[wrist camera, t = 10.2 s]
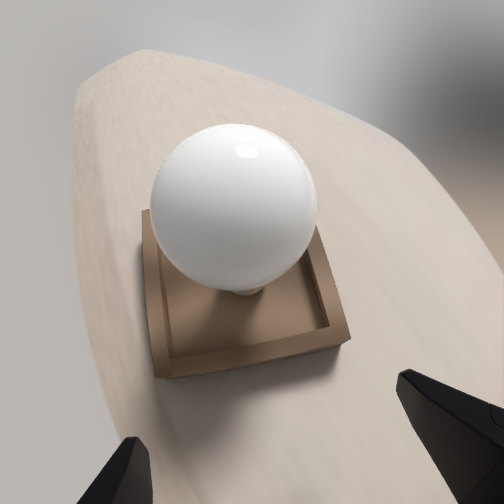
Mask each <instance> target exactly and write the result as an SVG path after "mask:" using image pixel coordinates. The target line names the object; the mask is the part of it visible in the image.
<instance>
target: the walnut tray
mask: <svg viewBox="0 0 504 504" xmlns="http://www.w3.org/2000/svg"><path fill="white" fill-rule="evenodd" d="M142 244H143V266H144V282H145V295H146V307H147V317H148V327H149V336H150V344H151V352H152V359H153V366H154V373H155V378H158V379H175V378H182V377H190V376H196V375H203V374H209V373H216V372H222V371H227V370H233V369H238V368H244V367H249V366H254V365H259V364H264V363H268V362H273V361H277V360H282V359H286V358H291V357H295V356H299V355H303V354H307V353H311V352H315V351H319V350H322V349H326V348H330V347H333V346H337V345H341V344H343V343H345V342H346V341H348V340H350V339H351V336H350V333H349V329H348V325H347V322H346V318H345V315H344V311H343V308H342V304H341V301H340V298H339V294H338V291H337V288H336V285H335V281H334V278H333V275H332V272H331V269H330V265H329V262H328V259H327V256H326V253H325V250H324V247H323V244H322V241H321V238H320V235H319V232H318V229H317V226H315V230H314V233H313V236H312V239H311V241H310V243H309V245H308V247H307V249H306V250H305V252H304V254H303V255H302V256H301V258H300V259H299V260H298V262H297V263H296V264H295V265H294V266H293V267H292V268H291V269H290V270H289V271H287V272H286V273H285V274H284V275H282V276H281V277H279V278H278V279H276V280H274V281H272V282H270V283H268V284H266V285H264V287H263V288H262V289H261V290H260V291H258V292H257V293H255V294H252V295H238V294H236V293H234V292H232V291H224V290H218V289H213V288H209V287H206V286H203V285H201V284H199V283H197V282H195V281H193V280H191V279H189V278H188V277H186V276H185V275H183V274H182V273H181V272H180V271H178V270H177V269H176V268H175V267H174V266H173V265H172V264H171V263H170V261H169V260H168V259H167V258H166V256H165V255H164V253H163V252H162V250H161V249H160V247H159V245H158V243H157V241H156V238H155V236H154V233H153V229H152V225H151V219H150V209H147V210H143V211H142Z"/></svg>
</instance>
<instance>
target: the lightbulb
mask: <svg viewBox="0 0 504 504" xmlns="http://www.w3.org/2000/svg"><path fill="white" fill-rule="evenodd" d="M317 212H318V201H317V193H316V188H315V184H314V181H313V178H312V175H311V173H310V171H309V169H308V167H307V165H306V163H305V162H304V160H303V159H302V157H301V156H300V155H299V154H298V153H297V151H296V150H295V149H294V148H293V147H292V146H291V145H290V144H288V143H287V142H286V141H285V140H283V139H282V138H280V137H279V136H277V135H275V134H274V133H272V132H270V131H267V130H265V129H262V128H259V127H256V126H252V125H246V124H222V125H216V126H212V127H209V128H206V129H203V130H201V131H198V132H196V133H194V134H193V135H191V136H189V137H188V138H186V139H185V140H183V141H182V142H181V143H180V144H178V145H177V146H176V147H175V148H174V149H173V150H172V151H171V152H170V154H169V155H168V156H167V157H166V159H165V160H164V162H163V163H162V165H161V167H160V168H159V170H158V172H157V175H156V177H155V180H154V183H153V186H152V190H151V196H150V219H151V225H152V229H153V233H154V236H155V238H156V241H157V243H158V245H159V247H160V249H161V250H162V252H163V253H164V255H165V256H166V258H167V259H168V260H169V261H170V263H171V264H172V265H173V266H174V267H175V268H176V269H177V270H178V271H180V272H181V273H182V274H183V275H185V276H186V277H188V278H189V279H191V280H193V281H195V282H197V283H199V284H201V285H203V286H206V287H209V288H213V289H218V290H224V291H232V292H234V293H236V294H238V295H252V294H255V293H257V292H258V291H260V290H261V289H262V288H263V287H264V285H266V284H268V283H270V282H272V281H274V280H276V279H278V278H279V277H281V276H282V275H284V274H285V273H286V272H287V271H289V270H290V269H291V268H292V267H293V266H294V265H295V264H296V263H297V262H298V260H299V259H300V258H301V256H302V255H303V254H304V252H305V250H306V249H307V247H308V245H309V243H310V241H311V239H312V236H313V233H314V230H315V226H316V221H317Z"/></svg>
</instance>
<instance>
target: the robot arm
mask: <svg viewBox="0 0 504 504" xmlns="http://www.w3.org/2000/svg"><path fill="white" fill-rule="evenodd" d="M396 392H397V395H398V397H399V399H400V401H401V403H402V405H403V408H404V410H405V412H406V414H407V416H408V418H409V421H410V423H411V425H412V427H413V428H414V430H415V432H416V433H417V435H418V437H419V438H420V440H421V441H422V443H423V445H424V446H425V448H426V450H427V451H428V453H429V455H430V456H431V458H432V460H433V461H434V463H435V465H436V466H437V468H438V470H439V471H440V473H441V475H442V476H443V478H444V480H445V481H446V483H447V485H448V487H449V488H450V490H451V492H452V494H453V495H454V497H455V499H456V501H457V502H458V504H504V409H503V408H501V407H498V406H495V405H493V404H490V403H489V404H488V402H485V401H483V400H481V399H478V398H476V397H473V396H471V395H469V394H466V393H464V392H462V391H459V390H457V389H455V388H452V387H450V386H448V385H445V384H443V383H441V382H439V381H436V380H434V379H432V378H430V377H427V376H425V375H423V374H421V373H418V372H416V371H414V370H412V369H407V370H404V371H402V372H400V373H399V374H398V380H397V386H396ZM77 504H153V490H152V480H151V470H150V459H149V452H148V450H147V448H146V447H145V446H144V444H143V443H142V442H141V440H140V439H139V438H138V437H126V438H125V439H124V440H123V442H122V443H121V444H120V446H119V447H118V449H117V450H116V451H115V453H114V454H113V455H112V457H111V458H110V459H109V461H108V462H107V463H106V465H105V466H104V467H103V469H102V470H101V472H100V473H99V474H98V476H97V477H96V478H95V480H94V481H93V482H92V484H91V485H90V486H89V488H88V489H87V490H86V492H85V493H84V495H83V496H82V497H81V498H80V500H79V501H78V502H77Z"/></svg>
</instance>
